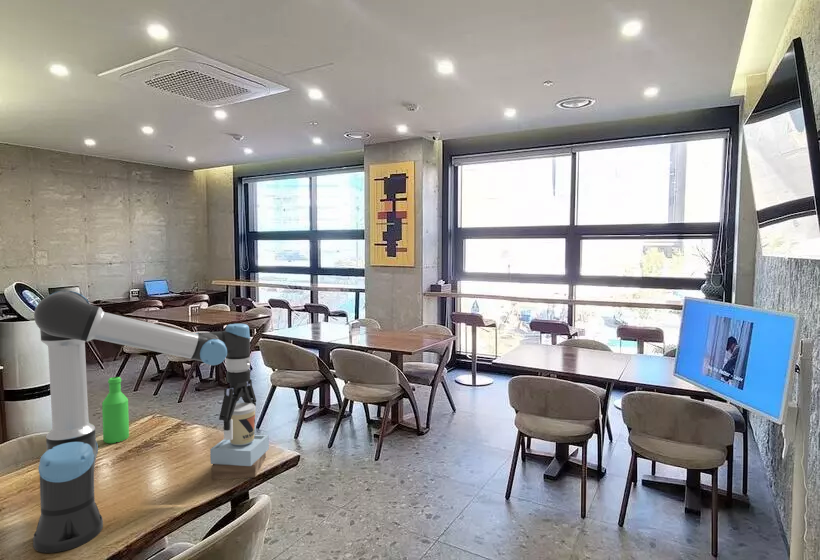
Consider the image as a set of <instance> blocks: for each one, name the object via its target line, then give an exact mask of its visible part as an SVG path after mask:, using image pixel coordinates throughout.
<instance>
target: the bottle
mask: <svg viewBox="0 0 820 560" xmlns="http://www.w3.org/2000/svg"><path fill="white" fill-rule="evenodd" d="M121 382H122V378H121V377H120V376H113V377H110V378H108V381H107V384H108V390H109V391H108V393H107V396H106V397H105V398H104V400H103V401H102V403H101V406H102V407H101V409H102V411H101V412H102V414H101V415H102V416H101V417H102V441H103V442H104V443H105V444H117V443H116V442H118V443H120V441H121V442H123V440H124V441H125V439H126V440H127V439H128V438H130V424H129V423H130V421H129V420H130V419H129V398H128V397H127V396H126V395H125V394H124V393H123V392H122V390H121V389H122V388H121V387H122V385H121Z"/></svg>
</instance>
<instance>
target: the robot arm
mask: <svg viewBox="0 0 820 560" xmlns="http://www.w3.org/2000/svg"><path fill="white" fill-rule="evenodd" d="M33 313H34V314H33V317H34V322H35V324H36V326H37V327H38V328H39V330H40V331H39V332H40V342H42V343H43V344H45V345H46V346H47V349H48V351H47V352H48V353H47V354H48V370H49V373H48V374H49V388H50V390H49V391H50V407H51V410H50V411H51V425H52V429H51V430H50V431H49V432H47V434H46V436H45V438H46V439H45V441H46V450H45V451H44V453H43V454H42V455H41V456H40V459H39V464H38V473H39V495H40V496H39V497H40V516H39V519H38V523H37V527H36V529H35V530H36V531H35V532H34V534H33V538H32V542H33V543H32V545H33V549H34V550H35V551H37V552H39V553H44V554H45V553H46V554H48V553H49V554H52V553H60V552H64V551H69V550H72V549H75V548H78V547H80V546H82V545H84V544H87V543H88V542H90V541H92V540H94V538H96V537H97V536H98V535H99V534H100V533H101V531H102V530H103V528H104V522H103V521H104V519H103V516H102V515H101V513H100V510H99V507H98V506H97V503H96V500H95V468H96V460H97V455H98V452H99V446H98V442H97V438H96V437H97V436H96V435H97V434H96V427H95V425H94V424H93V423H90V421H89V402H88V401H89V399H88V382H87V381H88V379H87V362H86V358H87V357H86V342H90V341H91V340H98V341H104V342H107V343H108V342H109V343H112V344H117V345H122V346H128V347H132V348H136V349H142V350H147V351H152V352H156V353H161V354H165V355H166V354H167V355H169V356H170V355H171V356H174V357H175V356H176V357H181V358H186V359H190V360H193V361H198V362H202V363H204V364H206V365H208V366H217V365H220V364H222V363H223V362H224V361H225V360H226V361H225V362H226V363H225V364H226V366H225V367H226V370H227V371H226V382H227V383H229V384H230V386H229V388H224V393H223V395H224V396H223V399H222V403H221V409H220V414H219V417H218V419H219V421H223V439H226V440H232V439H233V419H231V417H232V415H233V412H234V409H235V406H236V404H237V403H238V401H239V400H240V399H242V401H243V403H253V404H254V405H255V407H256V405H257V404H256V403H257V398H256V395H255V390H254V386H253V383H252V381H253V380H252V379H251V370H250V368H251V358H250V357H251V355H250V353H251V341H250V340H251V335H250V327H249V325H248V324H246V323H229V324H227V325H226V326H225V330H223V331H210V332H209V331H207V332H206V331H205V332H196V333H194V332H190V331H187V330H182V329H178V328H173V327H170V326H169V327H168V326H165V325H160V324H157V323H152V322H148V321H143V320H138V319H135V318H132V317H126V316H123V315H118V314H114V313H110V312H105V311H104V310H103V309H102V307H101V306H97V305H93V304H91V303H90V302H89V300H88V299H87V298H86V296H84V295H83V294H81V293H79V292H76V291H72V290H59V291H55V292H53V293H51V294H49V295H48V296H45V298H43V299H41V300H40V301H39V302H38V304H37V305H36V307H35V309H34V312H33Z"/></svg>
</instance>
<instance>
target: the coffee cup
mask: <svg viewBox="0 0 820 560" xmlns="http://www.w3.org/2000/svg"><path fill="white" fill-rule="evenodd" d="M256 409H257V408H256V406H255V405H254V404H253V403H245V402H237V403H236V406H235V409H234V412H233V415H232V417H231V419H233V439H232V440H230V442H231V444H233V445H245V444H249V443H251V442H252V441H253V440H254V435H255V427H256V425H255V424H256Z"/></svg>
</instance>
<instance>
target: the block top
mask: <svg viewBox="0 0 820 560" xmlns="http://www.w3.org/2000/svg"><path fill="white" fill-rule="evenodd" d="M269 439H270V437H269V434H266V435H265V434H254V440H253V441H252V442H251V443H249V444H245V445H233V444H231V442H230V440H226V439H224V438H222V440H221V441H218V442H217V443H216V444H215V445H214V446H213V447H211V448H210V451H209V452H210V465H213V464H222V465H239V466H252V465H253V464H254V463H255V462H256V461H257V460H258V459H259V458H260V457H261V456H262V455H263V454H264V453H265V452H268V450H270V441H269Z"/></svg>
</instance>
